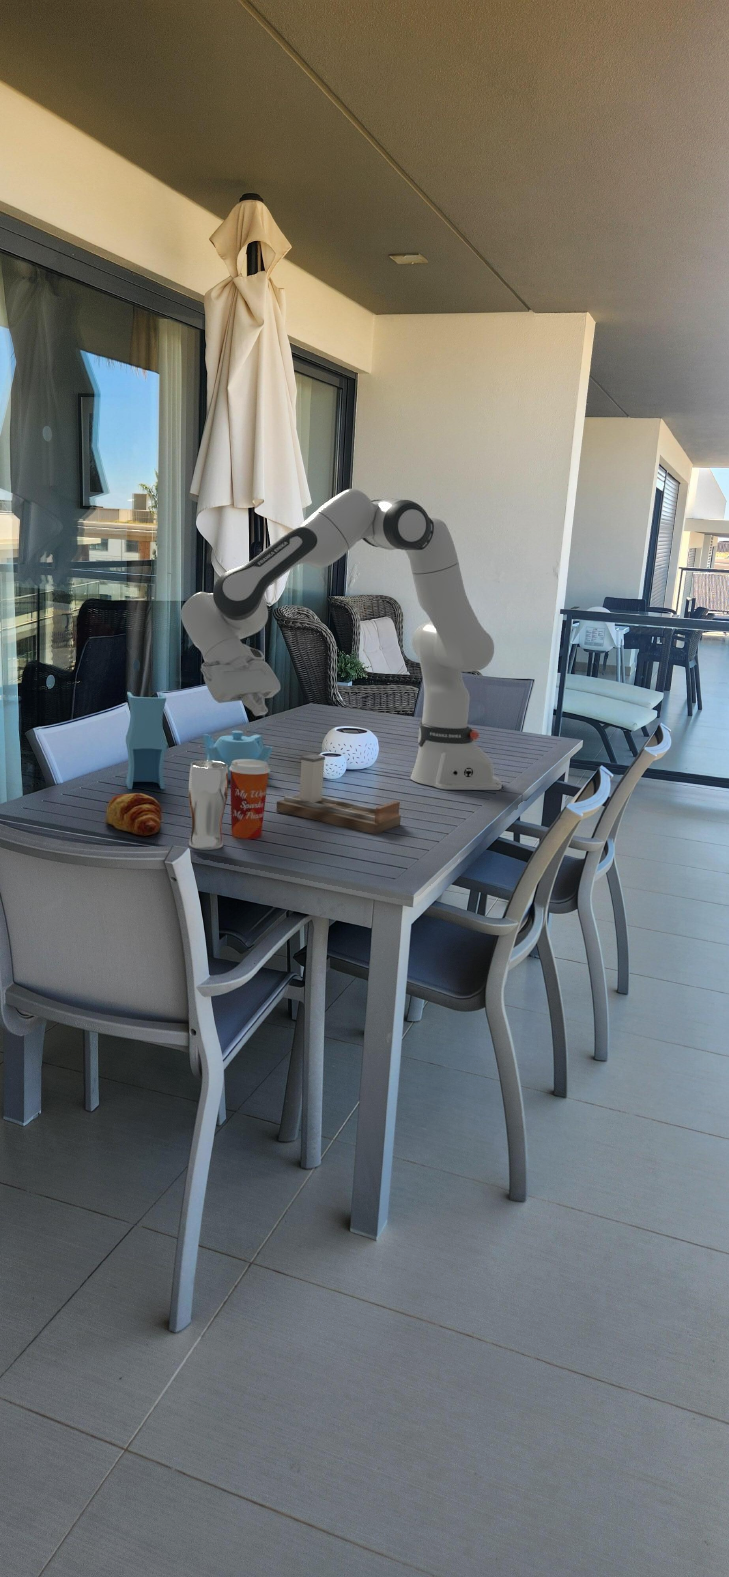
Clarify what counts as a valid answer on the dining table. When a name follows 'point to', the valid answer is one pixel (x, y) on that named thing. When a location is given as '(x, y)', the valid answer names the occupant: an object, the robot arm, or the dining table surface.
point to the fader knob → (311, 778)
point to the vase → (145, 740)
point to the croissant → (134, 813)
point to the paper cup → (248, 797)
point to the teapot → (236, 748)
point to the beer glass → (207, 803)
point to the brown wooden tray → (344, 813)
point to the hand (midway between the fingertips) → (262, 713)
